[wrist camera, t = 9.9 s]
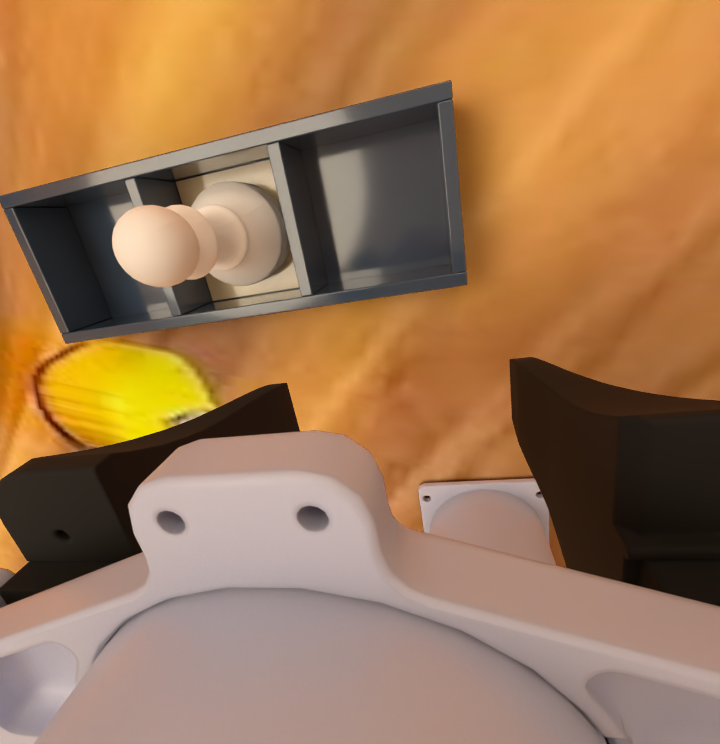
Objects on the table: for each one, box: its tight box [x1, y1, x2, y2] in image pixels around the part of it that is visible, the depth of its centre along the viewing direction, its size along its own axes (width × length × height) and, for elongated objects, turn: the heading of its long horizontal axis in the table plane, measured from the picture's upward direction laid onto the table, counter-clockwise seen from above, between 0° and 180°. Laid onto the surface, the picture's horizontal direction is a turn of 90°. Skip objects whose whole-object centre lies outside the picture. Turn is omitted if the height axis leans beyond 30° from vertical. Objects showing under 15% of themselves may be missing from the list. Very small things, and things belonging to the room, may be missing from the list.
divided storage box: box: [0, 80, 468, 344], centre depth 20 cm, size 8×22×4 cm, turn 100°
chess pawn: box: [112, 181, 290, 287], centre depth 17 cm, size 5×5×9 cm
